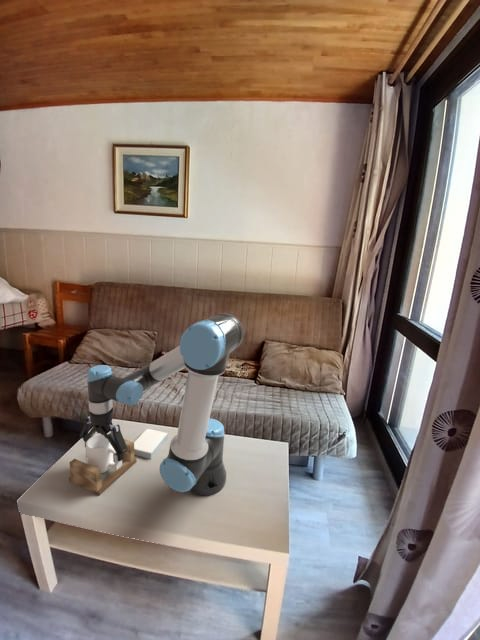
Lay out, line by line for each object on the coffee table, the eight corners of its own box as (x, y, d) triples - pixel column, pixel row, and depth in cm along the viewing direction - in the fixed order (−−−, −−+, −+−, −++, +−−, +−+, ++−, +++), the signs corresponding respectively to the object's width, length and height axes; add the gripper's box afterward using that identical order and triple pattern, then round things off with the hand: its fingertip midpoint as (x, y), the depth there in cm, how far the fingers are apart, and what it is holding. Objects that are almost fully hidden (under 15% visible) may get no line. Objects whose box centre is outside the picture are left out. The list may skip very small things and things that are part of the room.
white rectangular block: (167, 438, 134) (167, 432, 133) (151, 459, 120) (151, 453, 120) (147, 433, 136) (147, 428, 135) (128, 453, 123) (128, 447, 122)
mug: (110, 480, 107) (109, 453, 104) (82, 471, 110) (80, 445, 107) (126, 463, 115) (125, 438, 112) (99, 456, 118) (98, 431, 115)
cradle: (136, 461, 118) (136, 443, 116) (99, 495, 102) (98, 474, 100) (108, 450, 123) (107, 433, 121) (69, 481, 107) (67, 461, 105)
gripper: (137, 413, 106) (138, 465, 111) (83, 395, 114) (87, 445, 120) (121, 424, 99) (123, 479, 104) (65, 405, 108) (70, 457, 113)
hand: (104, 461), depth 112 cm, fingers open, 13 cm apart
